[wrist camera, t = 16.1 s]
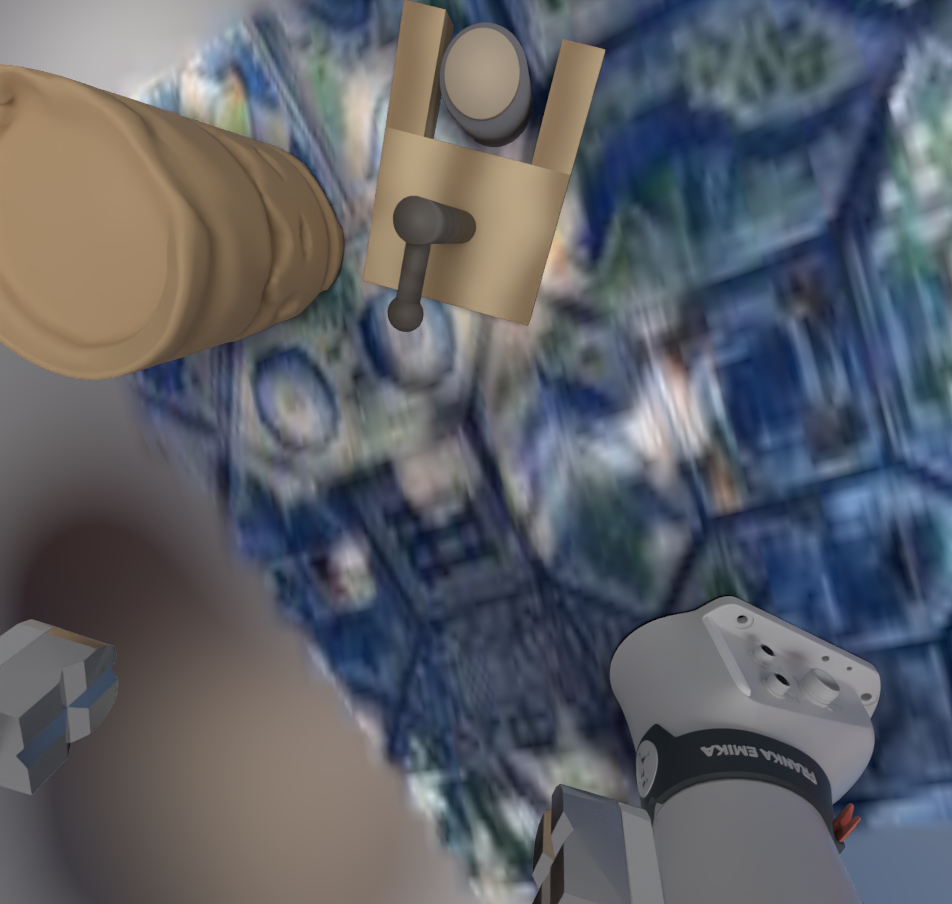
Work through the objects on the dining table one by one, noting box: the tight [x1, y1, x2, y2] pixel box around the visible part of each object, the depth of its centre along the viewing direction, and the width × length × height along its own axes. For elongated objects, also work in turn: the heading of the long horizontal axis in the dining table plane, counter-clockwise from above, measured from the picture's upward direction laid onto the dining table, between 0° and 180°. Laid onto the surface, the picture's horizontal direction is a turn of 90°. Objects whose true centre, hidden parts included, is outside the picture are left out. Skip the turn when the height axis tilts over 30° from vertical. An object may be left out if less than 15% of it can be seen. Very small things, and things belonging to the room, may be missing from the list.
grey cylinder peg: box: [440, 23, 533, 147], centre depth 31 cm, size 5×5×7 cm
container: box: [0, 64, 344, 380], centre depth 31 cm, size 13×13×18 cm
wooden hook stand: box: [363, 0, 605, 332], centre depth 29 cm, size 12×16×14 cm
